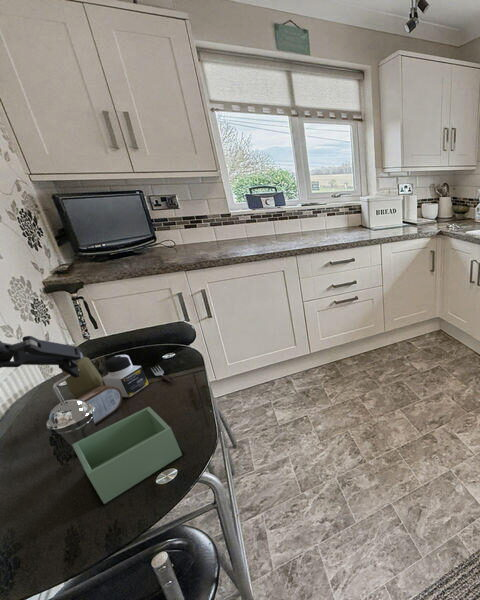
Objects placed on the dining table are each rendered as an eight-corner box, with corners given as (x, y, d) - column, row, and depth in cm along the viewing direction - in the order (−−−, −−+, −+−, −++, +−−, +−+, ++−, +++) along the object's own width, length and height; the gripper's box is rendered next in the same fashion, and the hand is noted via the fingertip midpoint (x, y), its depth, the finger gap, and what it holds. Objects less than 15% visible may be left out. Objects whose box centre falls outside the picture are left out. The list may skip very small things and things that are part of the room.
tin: (120, 402, 99) (109, 379, 96) (128, 403, 98) (117, 379, 95) (64, 440, 85) (48, 414, 82) (73, 441, 85) (58, 415, 82)
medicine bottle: (129, 397, 101) (113, 364, 97) (110, 397, 102) (94, 364, 98) (149, 384, 107) (135, 352, 103) (131, 383, 109) (117, 352, 105)
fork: (168, 386, 105) (166, 381, 104) (152, 373, 114) (150, 368, 113) (177, 382, 107) (175, 377, 106) (160, 369, 116) (158, 364, 115)
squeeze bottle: (96, 399, 102) (70, 349, 95) (67, 404, 101) (39, 353, 94) (113, 384, 109) (90, 336, 103) (86, 389, 108) (61, 341, 102)
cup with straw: (66, 449, 82) (27, 382, 75) (112, 429, 87) (79, 365, 80) (65, 468, 76) (22, 397, 69) (114, 445, 81) (79, 378, 74)
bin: (87, 471, 74) (71, 444, 72) (160, 431, 85) (148, 406, 82) (104, 504, 66) (86, 475, 63) (182, 455, 76) (170, 428, 73)
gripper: (-200, 404, 41) (-64, 432, 58) (65, 337, 54) (113, 376, 71) (-195, 352, 43) (-65, 393, 60) (58, 300, 56) (106, 346, 73)
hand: (31, 384), depth 66 cm, fingers open, 13 cm apart
